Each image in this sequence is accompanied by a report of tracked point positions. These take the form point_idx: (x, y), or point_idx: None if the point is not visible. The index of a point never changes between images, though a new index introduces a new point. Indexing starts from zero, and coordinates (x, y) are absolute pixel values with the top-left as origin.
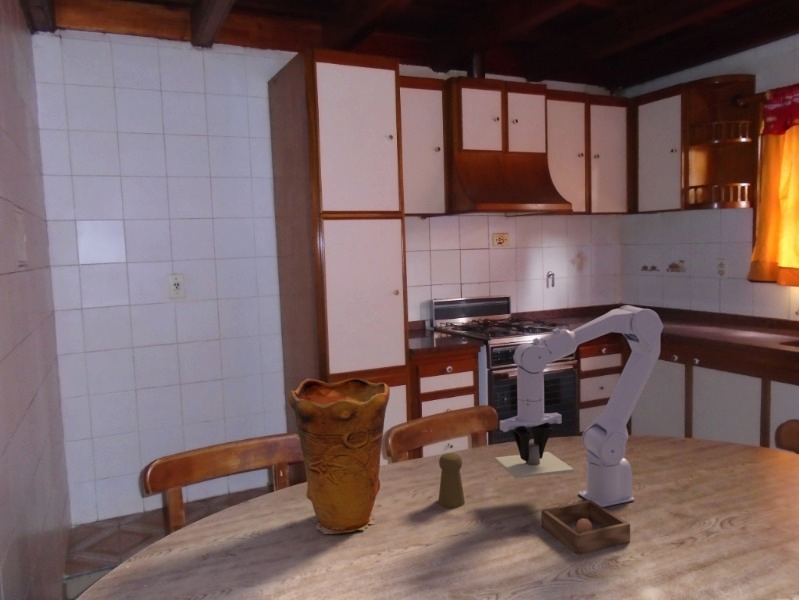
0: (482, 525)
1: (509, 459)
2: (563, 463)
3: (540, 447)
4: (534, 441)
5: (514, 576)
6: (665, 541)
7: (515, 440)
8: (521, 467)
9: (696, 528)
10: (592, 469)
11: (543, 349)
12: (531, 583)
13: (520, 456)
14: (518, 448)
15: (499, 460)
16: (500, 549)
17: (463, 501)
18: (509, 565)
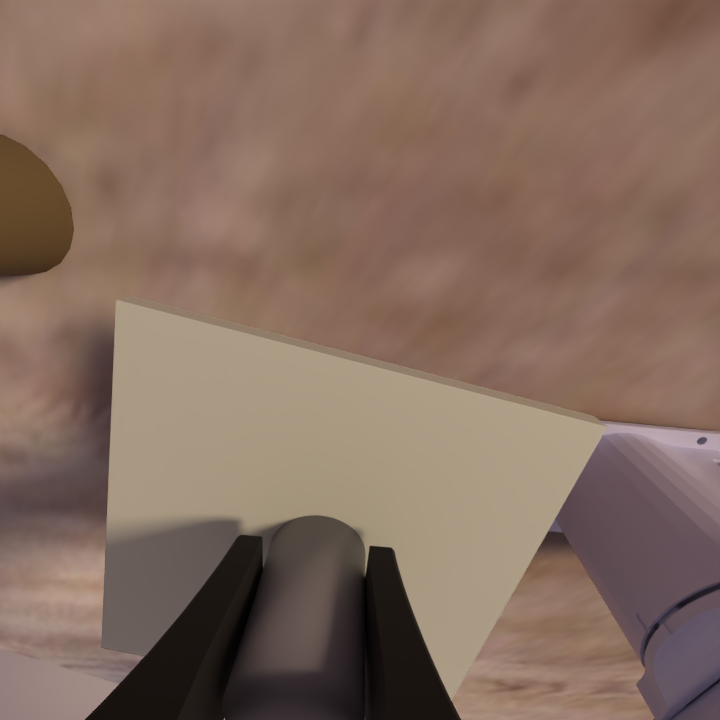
0: (86, 442)
1: (208, 412)
2: (474, 639)
3: (367, 707)
4: (380, 679)
5: (87, 637)
6: (492, 674)
7: (103, 702)
8: (200, 577)
9: (613, 671)
10: (620, 610)
11: None
12: (113, 661)
13: (231, 548)
14: (187, 609)
15: (119, 391)
16: (94, 559)
17: (47, 263)
18: (91, 610)
